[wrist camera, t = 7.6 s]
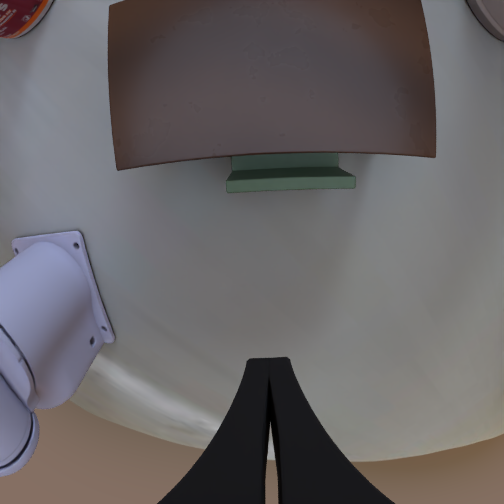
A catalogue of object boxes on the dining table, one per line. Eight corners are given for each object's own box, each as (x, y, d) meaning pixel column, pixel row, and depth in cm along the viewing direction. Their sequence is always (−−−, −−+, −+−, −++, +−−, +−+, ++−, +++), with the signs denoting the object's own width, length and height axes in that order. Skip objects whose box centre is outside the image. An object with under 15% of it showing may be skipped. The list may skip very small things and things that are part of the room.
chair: (326, 177, 16) (355, 201, 11) (238, 181, 16) (227, 206, 11) (321, 74, 14) (350, 51, 9) (230, 77, 14) (215, 52, 9)
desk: (376, 144, 15) (436, 158, 9) (167, 154, 16) (116, 171, 10) (368, 33, 12) (420, -5, 6) (159, 41, 13) (108, 5, 7)
